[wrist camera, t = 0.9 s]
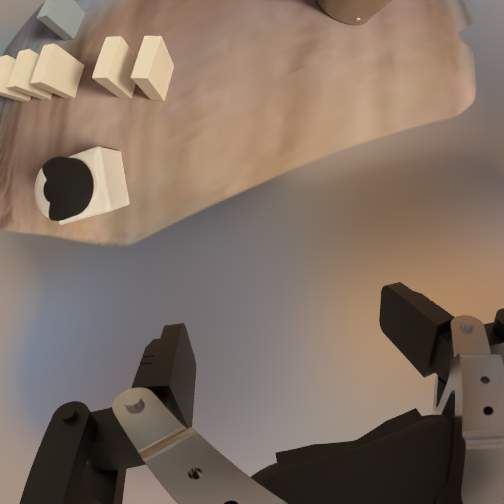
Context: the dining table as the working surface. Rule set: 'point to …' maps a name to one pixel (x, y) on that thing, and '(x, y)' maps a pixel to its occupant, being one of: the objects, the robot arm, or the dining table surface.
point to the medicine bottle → (81, 185)
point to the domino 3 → (62, 17)
